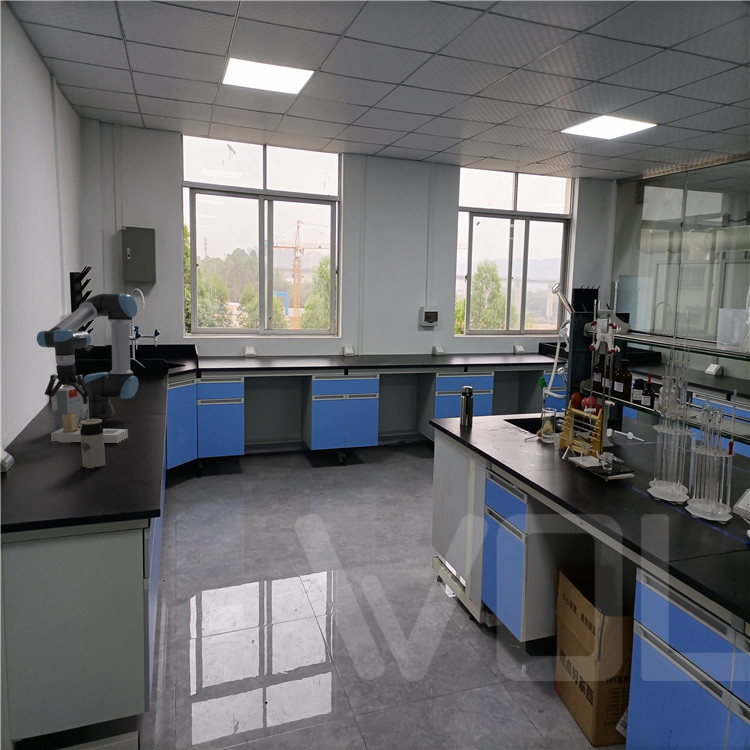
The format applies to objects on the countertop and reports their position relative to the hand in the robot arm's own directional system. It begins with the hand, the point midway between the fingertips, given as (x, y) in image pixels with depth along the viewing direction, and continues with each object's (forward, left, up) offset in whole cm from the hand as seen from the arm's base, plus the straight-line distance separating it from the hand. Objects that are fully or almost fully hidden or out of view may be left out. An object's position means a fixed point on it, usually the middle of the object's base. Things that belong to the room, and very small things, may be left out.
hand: (69, 410), depth 257 cm
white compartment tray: (0, +9, -13) cm, 16 cm away
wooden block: (0, 0, -13) cm, 13 cm away
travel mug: (+35, +30, -13) cm, 48 cm away
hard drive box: (-20, -11, -14) cm, 26 cm away
